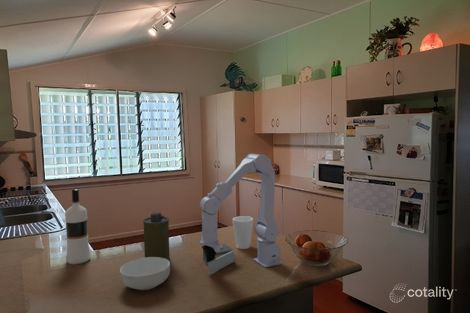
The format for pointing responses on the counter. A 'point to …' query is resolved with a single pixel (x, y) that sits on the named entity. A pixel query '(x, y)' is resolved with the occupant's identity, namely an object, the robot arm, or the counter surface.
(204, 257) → the camera body
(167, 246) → the canister
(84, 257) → the vodka
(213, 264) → the side door
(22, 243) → the counter surface
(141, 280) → the cereal bowl
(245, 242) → the foam cup
